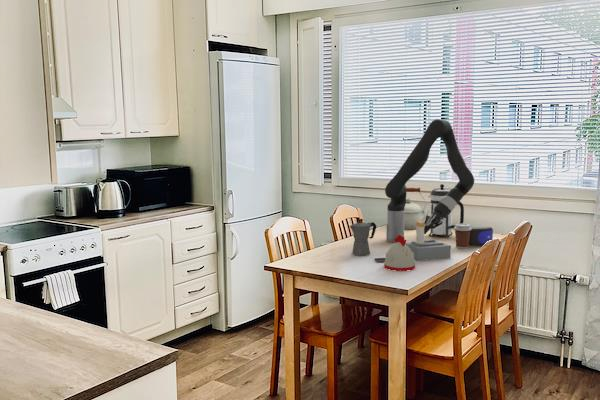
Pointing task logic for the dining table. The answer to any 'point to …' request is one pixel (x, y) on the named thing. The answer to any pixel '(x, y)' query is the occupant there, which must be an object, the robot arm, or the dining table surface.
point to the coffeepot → (362, 237)
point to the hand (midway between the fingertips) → (423, 232)
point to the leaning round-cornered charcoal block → (480, 236)
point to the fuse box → (430, 250)
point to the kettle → (413, 212)
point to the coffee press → (447, 222)
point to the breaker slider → (420, 233)
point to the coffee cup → (462, 235)
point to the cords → (380, 259)
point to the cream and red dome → (399, 256)
